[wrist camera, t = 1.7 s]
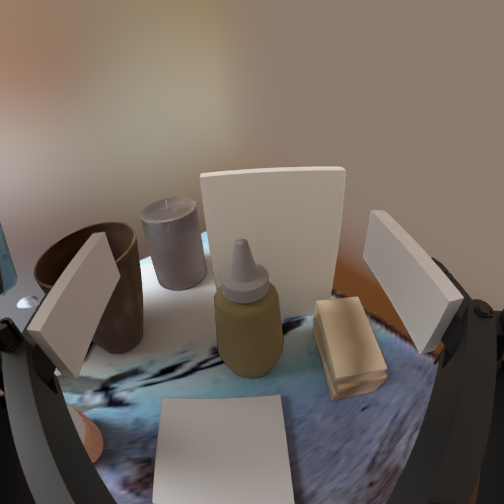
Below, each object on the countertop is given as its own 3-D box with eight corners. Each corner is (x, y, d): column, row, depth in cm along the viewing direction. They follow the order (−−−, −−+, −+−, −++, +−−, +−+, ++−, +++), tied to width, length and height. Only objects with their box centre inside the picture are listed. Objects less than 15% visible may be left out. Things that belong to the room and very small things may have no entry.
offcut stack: (328, 403, 27) (337, 382, 24) (309, 327, 38) (312, 300, 35) (378, 392, 27) (393, 369, 24) (351, 321, 38) (358, 295, 35)
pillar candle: (155, 267, 52) (136, 199, 44) (200, 254, 56) (188, 185, 47) (162, 297, 45) (139, 220, 37) (214, 281, 48) (202, 203, 40)
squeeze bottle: (252, 398, 29) (238, 284, 19) (208, 360, 34) (178, 245, 24) (295, 358, 33) (306, 239, 24) (252, 328, 38) (243, 214, 29)
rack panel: (222, 322, 40) (199, 177, 28) (222, 315, 41) (201, 173, 29) (327, 313, 40) (346, 170, 28) (325, 306, 41) (341, 166, 29)
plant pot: (109, 298, 45) (78, 221, 36) (179, 308, 42) (155, 219, 34) (68, 358, 32) (16, 278, 24) (143, 385, 30) (89, 295, 21)
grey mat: (156, 503, 17) (152, 502, 16) (165, 400, 28) (162, 397, 28) (293, 506, 17) (294, 505, 16) (280, 397, 29) (280, 394, 28)
